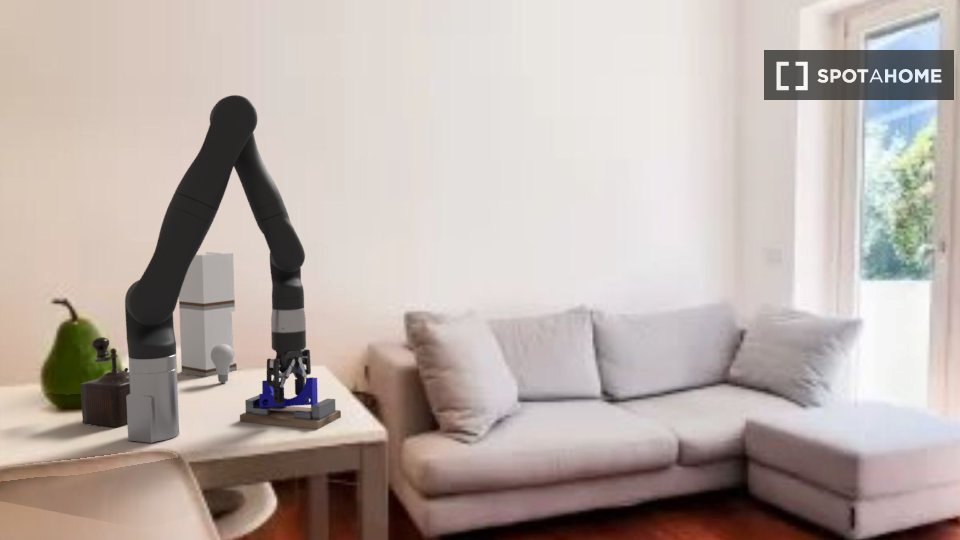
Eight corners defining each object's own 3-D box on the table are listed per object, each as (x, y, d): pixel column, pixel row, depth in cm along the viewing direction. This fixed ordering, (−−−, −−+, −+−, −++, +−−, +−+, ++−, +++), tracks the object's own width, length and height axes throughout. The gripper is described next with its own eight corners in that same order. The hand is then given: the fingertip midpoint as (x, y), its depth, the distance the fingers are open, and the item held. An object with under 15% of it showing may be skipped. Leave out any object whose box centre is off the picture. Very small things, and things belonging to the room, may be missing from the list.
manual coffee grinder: (154, 415, 176) (151, 339, 174) (115, 428, 165) (112, 347, 164) (104, 409, 181) (101, 335, 180) (64, 421, 171) (60, 343, 170)
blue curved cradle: (259, 407, 171) (259, 380, 172) (268, 407, 175) (268, 381, 176) (310, 404, 169) (309, 377, 170) (317, 404, 173) (317, 377, 174)
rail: (318, 428, 164) (317, 408, 164) (240, 421, 170) (239, 401, 170) (340, 417, 174) (340, 397, 173) (265, 410, 180) (265, 391, 180)
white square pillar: (236, 370, 226) (233, 253, 223) (206, 377, 217) (202, 255, 214) (212, 366, 232) (208, 252, 229) (181, 372, 223) (177, 254, 220)
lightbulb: (210, 382, 210) (209, 343, 209) (233, 380, 213) (232, 341, 212) (212, 386, 205) (211, 346, 204) (236, 384, 207) (235, 344, 206)
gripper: (285, 334, 162) (286, 408, 164) (319, 324, 176) (320, 393, 177) (255, 332, 165) (257, 405, 166) (291, 323, 178) (292, 391, 180)
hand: (289, 399), depth 172 cm, fingers open, 8 cm apart
